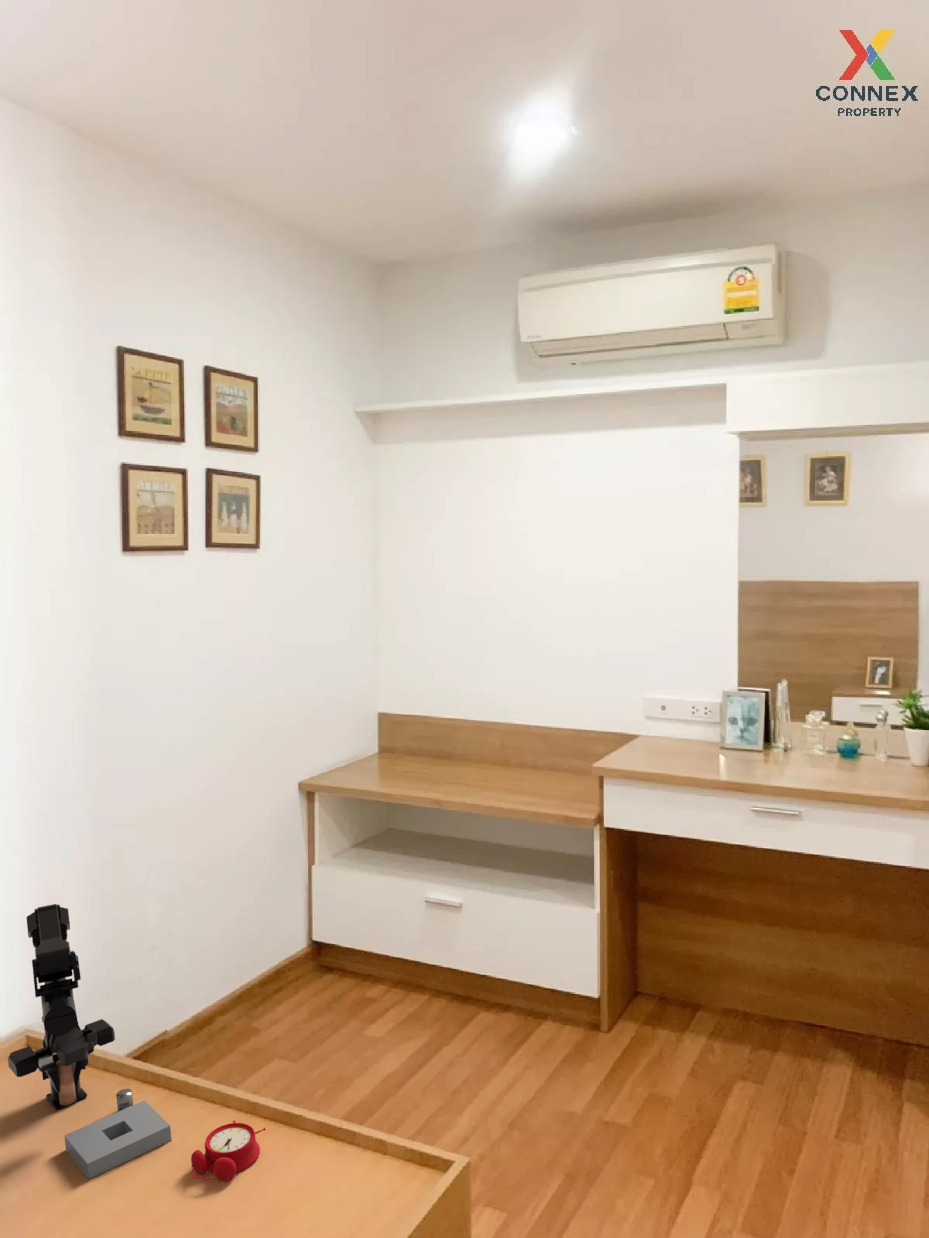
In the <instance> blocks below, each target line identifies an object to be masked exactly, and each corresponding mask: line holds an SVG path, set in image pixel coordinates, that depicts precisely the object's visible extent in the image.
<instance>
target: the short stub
mask: <svg viewBox="0 0 929 1238" xmlns="http://www.w3.org/2000/svg"><path fill="white" fill-rule="evenodd" d="M115 1097H116V1104H117V1105H116V1106H117V1112H119V1111H121V1110H123V1109H126V1108H128V1107H130V1106H133V1105H134V1102H133V1101H134V1099H133V1091H132V1089H130V1088H122V1089H120V1090H119V1091H117V1092H116V1094H115Z"/></svg>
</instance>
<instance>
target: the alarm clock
mask: <svg viewBox="0 0 929 1238" xmlns="http://www.w3.org/2000/svg"><path fill="white" fill-rule="evenodd" d="M263 1131H266V1128H265V1127H263V1129H260V1130H258V1131H255V1130H254V1128H253V1127H252V1126H250V1125H249V1124H248V1123H242V1122H236V1120H232V1123H227V1124H224V1125H221V1126H219V1127H217V1128H215V1129H213V1130H212V1131H211V1132H209V1134H208V1135H207V1136H206V1138H205V1140H204V1141H205V1142H204V1150H205V1152H204V1153H203V1152H202V1150H200V1149H196V1150H194V1151H193V1152H192V1153H191V1156H190V1159H191V1161H190V1162H191V1167H192V1170H191V1172H190V1175H191V1176H192V1177H193V1178H194V1179H198V1180H202V1181H209V1180H212V1179H214V1178H216V1179H217V1180H220V1181H223V1182H225V1181H230V1180H232V1179H233V1178H234V1177H235V1175H236V1174H237V1173H240V1172H242V1171H244V1170H246V1169H248V1168H249V1167H251V1166H252V1165H253V1164H255V1162H256V1161H257V1160H258V1158H259V1156H260V1154H261V1148H260V1145H259V1143H258V1142H257V1140H256V1138H257V1137H256V1135H257V1134H259V1133H261V1132H263ZM194 1171H195V1173H196V1174H198V1175H202V1176H203V1175H205V1174H206V1173H207V1172H209V1173H211V1174H213V1175H212V1176H211V1177H205V1178H204V1177H200V1176H196V1175H194V1174H193V1172H194Z"/></svg>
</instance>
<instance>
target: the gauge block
mask: <svg viewBox="0 0 929 1238" xmlns="http://www.w3.org/2000/svg"><path fill="white" fill-rule="evenodd" d="M171 1130H172V1129H171V1125H170V1124H169V1123H168V1121H166V1120H165V1119H164V1118H163V1117H162V1116H161V1115H160V1114H159V1113H158V1112H157V1111H156V1110H155V1109H154V1108H153V1107H152V1105H150V1104H149V1103H148V1102H147V1101H146V1100H141V1101H139V1102H137V1103H134V1104H133V1106H130V1107H128V1108H126V1109H123V1110H121V1111H119V1112H118V1111H117V1112H114V1113H112V1114H110V1115H107V1116H105V1117H103V1118H101V1119H98V1120H96V1121H94V1122H91V1123H90V1124H86V1125H85V1126H83V1127H80V1128H78V1129H76V1130H73V1131H71V1132H69V1133H66V1134H65V1135H63V1136H64V1137H63V1138H64V1145H65V1151H66V1153H67V1154H69V1155H68V1156H70V1157H71V1158H72V1160H73V1161H74V1162H75V1163H76V1165H77V1166H78V1167H79V1168H80V1171H82V1173H84V1175H85V1176H86V1177H87V1179H88V1180H90V1179H92V1178H94V1177H97V1176H99V1175H101V1174H103V1173H105V1172H107V1171H110V1170H112V1169H113V1168H116V1167H117V1166H120V1165H122V1164H124V1163H127V1162H128V1161H130V1160H131V1161H132V1160H133V1159H134V1158H137V1157H139V1156H141V1155H144V1154H145V1153H148V1152H150V1151H152V1150H154V1149H157V1148H158V1147H161V1146H163V1145H164V1144H167V1143H169V1142H171V1141H172V1131H171Z"/></svg>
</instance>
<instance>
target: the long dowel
mask: <svg viewBox="0 0 929 1238" xmlns="http://www.w3.org/2000/svg"><path fill="white" fill-rule="evenodd" d="M56 1064H57V1068H56V1071H57V1076H58V1080H59V1085H60V1092H59V1101H60V1104H61V1105H67V1106H69V1105H71V1104H73V1102H74V1103H76V1102H77V1101H76V1092H75V1082H74V1072H73V1063H72V1064H71V1065H69V1066H64V1065H62V1064H61V1061H60V1060H59V1061H57V1062H56ZM75 1101H76V1102H75Z"/></svg>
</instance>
